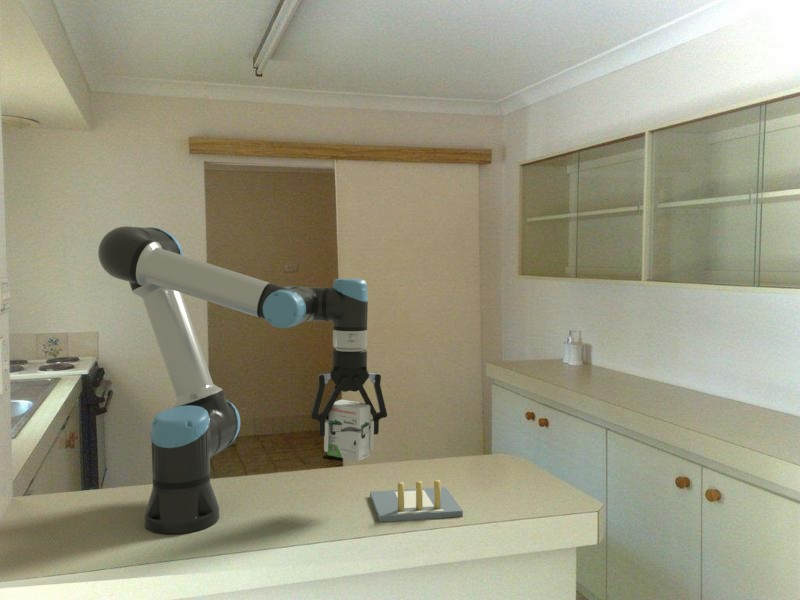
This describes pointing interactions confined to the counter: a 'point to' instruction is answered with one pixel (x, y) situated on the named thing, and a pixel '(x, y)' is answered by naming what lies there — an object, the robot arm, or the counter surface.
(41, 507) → the counter surface
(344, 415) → the ink box
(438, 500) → the board
